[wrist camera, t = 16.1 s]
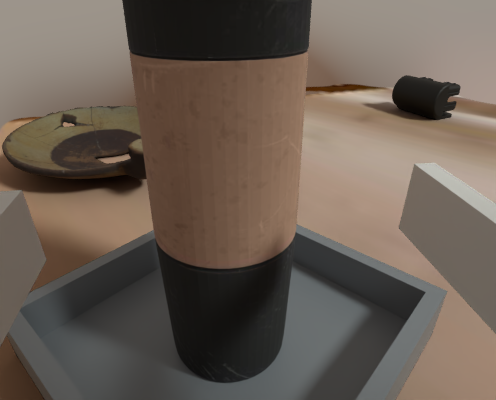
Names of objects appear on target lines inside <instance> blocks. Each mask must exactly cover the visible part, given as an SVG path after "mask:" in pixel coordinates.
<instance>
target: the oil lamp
mask: <svg viewBox="0 0 496 400" xmlns="http://www.w3.org/2000/svg"><path fill="white" fill-rule="evenodd" d="M63 122H67V123H72V124H74V125H75V126H69V127H64V126H63ZM2 149H3V152H4V154H5V156H6V158H7V159H8V160H9V162H10V163H11V164H13V165H14V166H15V167H17V168H19V169H21V170H23V171H26V172H29V173H33V174H37V175H42V176H49V177H57V178H67V179H91V178H105V177H113V176H119V175H129V176H132V177H134V178H137V179H140V180H143V179H147V177H146V169H145V162H144V155H143V147H142V140H141V133H140V125H139V118H138V111H137V107H134V106H117V107H110V106H107V107H103V106H99V107H90V108H75V109H70V110H67V111H61V112H57V113H51V114H48V115H47V116H44V117H41V118H39V119H35V120H33V121H32V122H29V123H27V124H25V125H23V126H21V127H19V128H17V129H16V130H15V131H13V132H12V133H10V135H9V136H7V138H6V139H5V141H4V143H3V145H2ZM127 152H129V155H130V157H131V159H128V160H125V161H120V162H116V163H109V164H106V163H103V162H101V161H100V160H98V159H95V158H97V157H98V158H99V157H105V156H116V155H122V154H125V153H127Z"/></svg>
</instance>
